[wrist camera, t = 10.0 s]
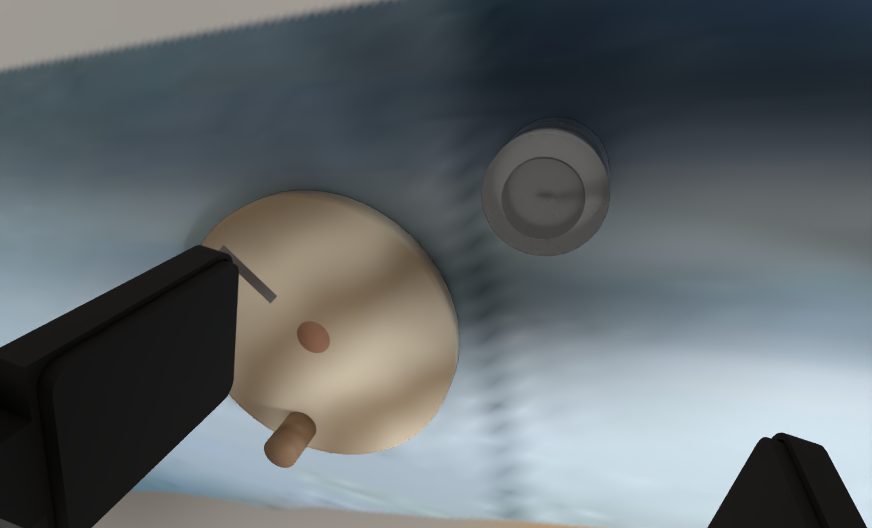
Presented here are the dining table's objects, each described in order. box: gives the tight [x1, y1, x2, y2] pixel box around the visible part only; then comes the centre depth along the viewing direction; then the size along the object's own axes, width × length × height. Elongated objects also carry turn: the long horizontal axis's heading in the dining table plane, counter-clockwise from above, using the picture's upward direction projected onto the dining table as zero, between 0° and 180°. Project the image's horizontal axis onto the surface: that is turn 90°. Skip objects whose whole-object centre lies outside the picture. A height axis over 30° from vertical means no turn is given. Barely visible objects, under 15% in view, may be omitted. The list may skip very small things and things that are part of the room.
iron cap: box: [481, 117, 610, 256], centre depth 24 cm, size 5×5×5 cm
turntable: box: [202, 190, 460, 468], centre depth 30 cm, size 16×16×4 cm
